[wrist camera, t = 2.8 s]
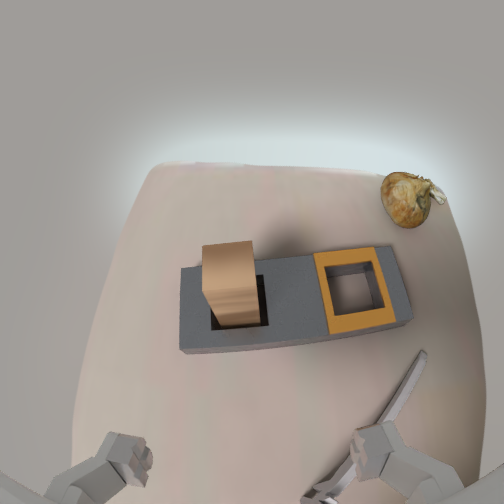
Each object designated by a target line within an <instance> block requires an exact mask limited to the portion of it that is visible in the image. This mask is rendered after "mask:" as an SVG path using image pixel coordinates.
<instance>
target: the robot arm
mask: <svg viewBox="0 0 504 504" xmlns="http://www.w3.org/2000/svg"><path fill="white" fill-rule="evenodd" d="M353 438H354V439H353V440H352V441H351V444H350V454H351V459H352V462H354V463H355V464H357V465H356V468H355V471H356V475H357V478H358V481H359V482H361V481H365V480H369V479H373V478H377V477H379V478H380V479H381V480H383V481H384V482H385V483H387V484H388V485H390V486H391V487H392V488H394V489H395V490H396V491H398V492H399V493H401V494H402V495H404V496H405V497H406V498H408V500H407V501H406V503H405V504H504V463H503V464H502V465H501V466H499V467H498V468H496V469H495V470H493V471H492V472H490V473H489V474H488V475H486V476H484V477H483V478H481V479H480V480H478V481H476V482H475V483H473V484H471V485H470V486H468V487H466V488H465V487H464V485H463V484H462V482H461V480H460V478H459V477H458V475H457V473H456V471H455V470H454V468H453V467H452V466H450V465H448V464H445V463H443V462H441V461H439V460H437V459H435V458H432V457H430V456H428V455H426V454H424V453H422V452H420V451H418V450H416V449H414V448H412V447H406V445H405V443H404V442H403V440H402V438H401V436H400V434H399V432H398V430H397V428H396V427H395V425H394V423H393V421H391V420H389V421H385V422H382V423H377V424H373V425H369V426H365V427H361V428H357V429H355V430H354V431H353ZM145 445H146V441H145V439H144V438H142V437H136V436H131V435H125V434H121V433H115V432H109V433H108V434H107V435H106V437H105V439H104V441H103V443H102V445H101V447H100V448H99V450H98V452H97V454H96V456H95V457H91V458H89V459H87V460H85V461H83V462H82V463H80V464H78V465H76V466H74V467H73V468H71V469H69V470H67V471H65V472H63V473H61V474H59V475H57V476H55V477H54V479H53V480H52V482H51V484H50V486H49V487H48V489H47V491H46V493H45V495H44V496H41V495H40V494H38V493H36V492H34V491H33V490H31V489H29V488H27V487H25V486H24V485H22V484H20V483H19V482H17V481H15V480H14V479H12V478H11V477H9V476H8V475H6V474H4V473H3V472H2V471H0V504H104V503H106V502H107V501H108V500H109V499H111V498H112V497H113V496H114V495H116V494H117V493H118V492H119V491H120V490H122V489H123V488H124V487H125V486H126V484H128V485H133V486H138V487H144V488H145V485H146V482H147V479H148V474H147V471H148V470H149V469H151V467H152V464H153V456H152V452H151V450H150V449H149V448H148V447H146V446H145Z"/></svg>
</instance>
